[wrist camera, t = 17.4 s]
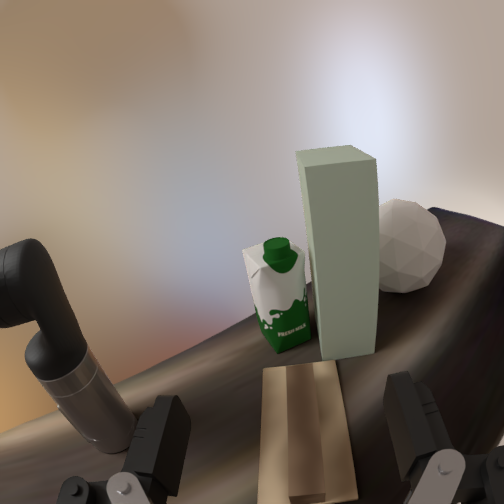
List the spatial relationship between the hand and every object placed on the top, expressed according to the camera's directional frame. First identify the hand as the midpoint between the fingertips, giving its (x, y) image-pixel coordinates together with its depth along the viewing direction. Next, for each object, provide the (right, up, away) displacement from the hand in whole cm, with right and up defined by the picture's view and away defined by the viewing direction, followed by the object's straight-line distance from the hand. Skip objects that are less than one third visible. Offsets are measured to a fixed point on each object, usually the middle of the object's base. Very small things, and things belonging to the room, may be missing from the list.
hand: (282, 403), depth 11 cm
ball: (+31, -2, +54) cm, 62 cm away
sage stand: (+15, -9, +45) cm, 48 cm away
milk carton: (+5, -10, +47) cm, 49 cm away
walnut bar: (+6, -19, +26) cm, 33 cm away
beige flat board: (+6, -19, +28) cm, 35 cm away
